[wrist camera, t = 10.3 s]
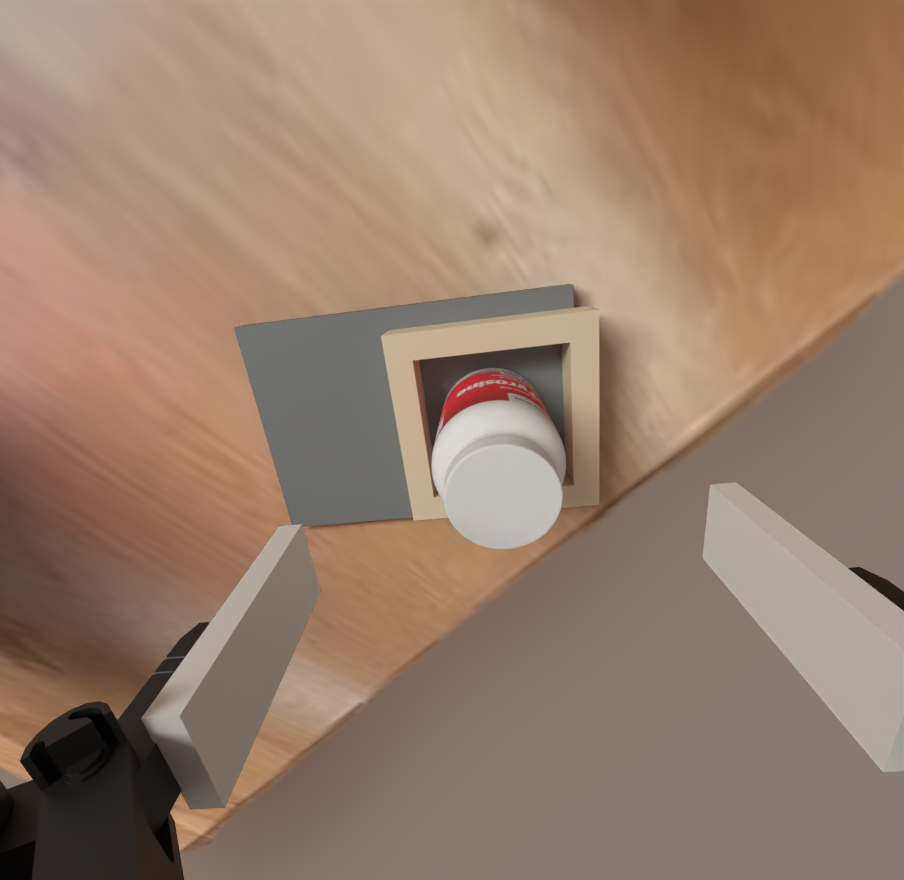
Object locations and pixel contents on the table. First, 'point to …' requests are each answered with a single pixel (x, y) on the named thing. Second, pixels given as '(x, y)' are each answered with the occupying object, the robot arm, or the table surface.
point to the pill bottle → (498, 460)
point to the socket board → (413, 395)
